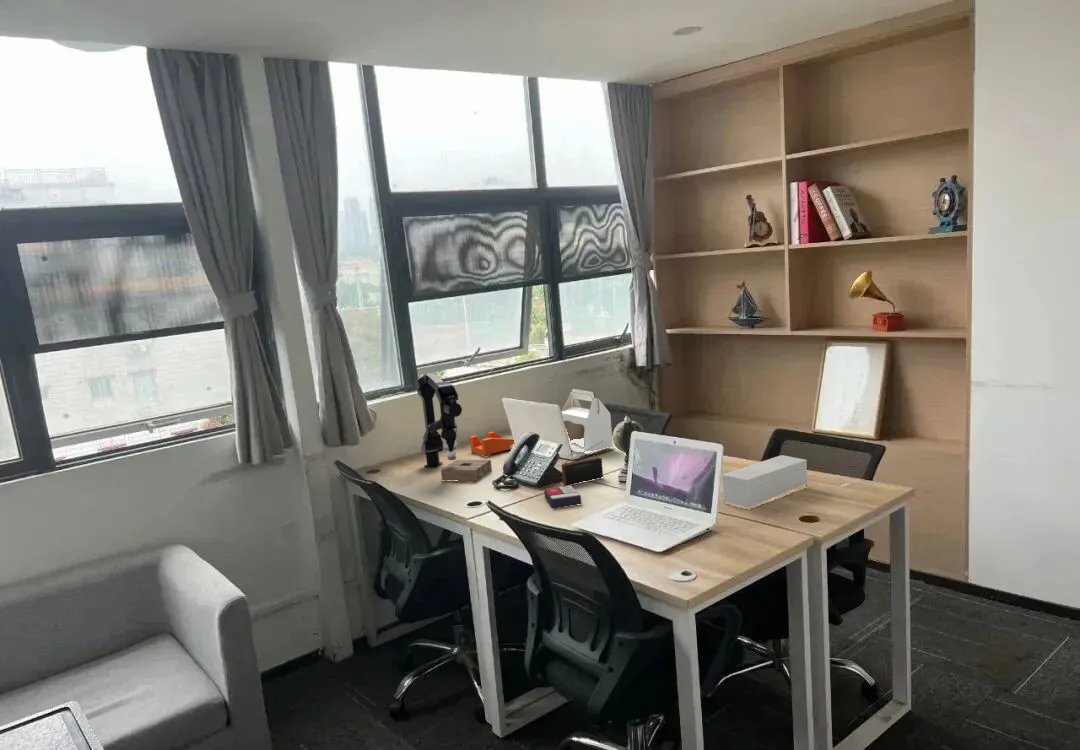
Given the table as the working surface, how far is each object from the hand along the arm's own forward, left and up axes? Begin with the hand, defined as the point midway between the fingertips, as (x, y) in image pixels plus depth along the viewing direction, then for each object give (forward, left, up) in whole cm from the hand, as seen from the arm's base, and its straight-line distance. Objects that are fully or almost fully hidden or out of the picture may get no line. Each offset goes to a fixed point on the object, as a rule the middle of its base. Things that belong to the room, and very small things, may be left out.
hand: (451, 449), depth 328 cm
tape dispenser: (-44, 0, -13) cm, 46 cm away
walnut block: (-3, +5, -12) cm, 13 cm away
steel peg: (0, 0, -4) cm, 4 cm away
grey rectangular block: (+13, +129, -13) cm, 130 cm away
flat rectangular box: (+25, +57, -13) cm, 64 cm away
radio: (+1, +59, -13) cm, 60 cm away
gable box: (-48, +45, -13) cm, 67 cm away
